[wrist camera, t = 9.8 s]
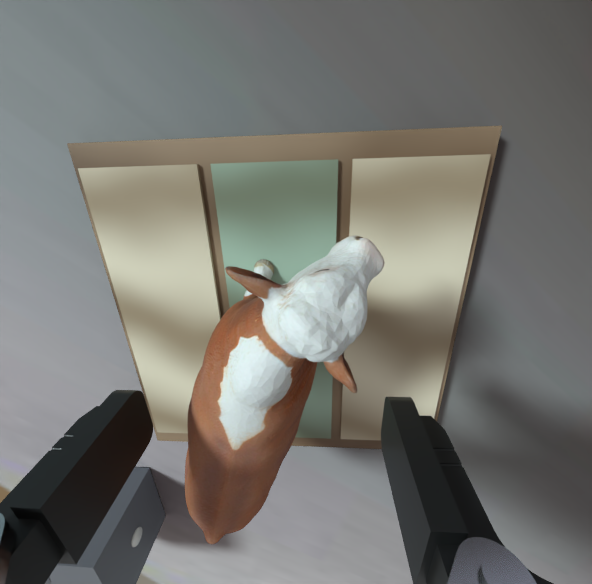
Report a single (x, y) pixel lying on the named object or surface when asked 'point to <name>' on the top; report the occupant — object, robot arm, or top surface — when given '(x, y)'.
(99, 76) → the top surface
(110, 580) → the die
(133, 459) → the robot arm
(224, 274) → the paneled room divider
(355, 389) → the bull figurine
